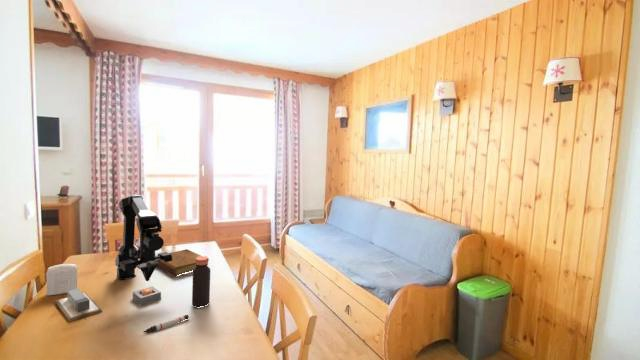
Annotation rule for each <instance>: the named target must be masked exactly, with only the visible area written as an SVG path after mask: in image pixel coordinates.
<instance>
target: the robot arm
mask: <svg viewBox="0 0 640 360" xmlns="http://www.w3.org/2000/svg"><path fill="white" fill-rule="evenodd" d="M118 208H119V211H120V213H122V215H123V232H122V233H123V235H122V236H123V237H122V245H121V247H120V248H119V249H118V252H117V253H118V254H116V255H117V256H116V258H115V260H114V261H115V264H114V265H115V266H116V267H117V268H116V277H117V278H118V279H120V280H121V281H124V280H127V279H132V278H135V277H137V275H136V274H135V273H136V272H135V270H136V268H137V269H139V270H140V271H141V272H142V275H143V277H144V280H145V281H146V282H149V281H150V279H151V277H152V275H153V274H154V271H155V270H156V269H157V268H158V267H157V266H159V264H158V263H157V262H158V261H159V260H163V261H165V262H169V261H172V255H171V254H169V253H170V252H168V251H163V252H160V253H157V254H156V251H160V250H161V249H162V248H163V247H164V245H165V241H164V239H163V237H162V236H161V235H160V234H159V233H161V232H162V228H163V226H162V223H161V221H160V218H159V217H158V216H157V214H156V213H155V212H154V211H151V210H149V208H148V207H147V205H146V204H145V201H144V200H143V195H140V194H136V195H134V194H133V195H129V196H128V197H127V196H126V197H124V198H122V199H121V200H119V203H118ZM136 217H137V219H136ZM136 227H137V230H138V233H139V246H138V247H137V248H136V247H135V230H136V229H135V228H136Z"/></svg>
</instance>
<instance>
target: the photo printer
mask: <svg viewBox="0 0 640 360" xmlns="http://www.w3.org/2000/svg"><path fill="white" fill-rule="evenodd" d="M78 273H79V272H78V267H77V264H73V263H60V264H56V265H51V266H50V267H48V268H47V270H46V296H53V295H54V296H56V295H61V294H63V295H64V294H67V291H70V290H74V289H78Z"/></svg>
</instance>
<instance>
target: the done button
mask: <svg viewBox="0 0 640 360" xmlns="http://www.w3.org/2000/svg"><path fill="white" fill-rule="evenodd" d="M143 289H144V290H142V289H141V290H142V291H141V295H143V296H145V295H148V294H151V293H152V289H145V288H143Z"/></svg>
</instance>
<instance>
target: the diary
mask: <svg viewBox="0 0 640 360" xmlns="http://www.w3.org/2000/svg"><path fill="white" fill-rule="evenodd" d="M168 253H169V254H171V255H172V261H169V262H165V261H163V260H159V261H158V262H157V263H158V264H159V266H157V267H156V268H158V267H159V268H158V269H160V270H162V271H164V272H165V273H167V274H168V275H170V274H171V276H172V277H174V278H177V277H176V276H177V275H179V274H182V273H185V272H189V271H192V270H194V268H195V267H196V258H197V257H200V256H202V255H201V254H198V253H196V252H195V251H191V250H189V249H182V250H178V251H177V250H176V251H172V252H168ZM209 261H210V259H209V258H208V262H209Z"/></svg>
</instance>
